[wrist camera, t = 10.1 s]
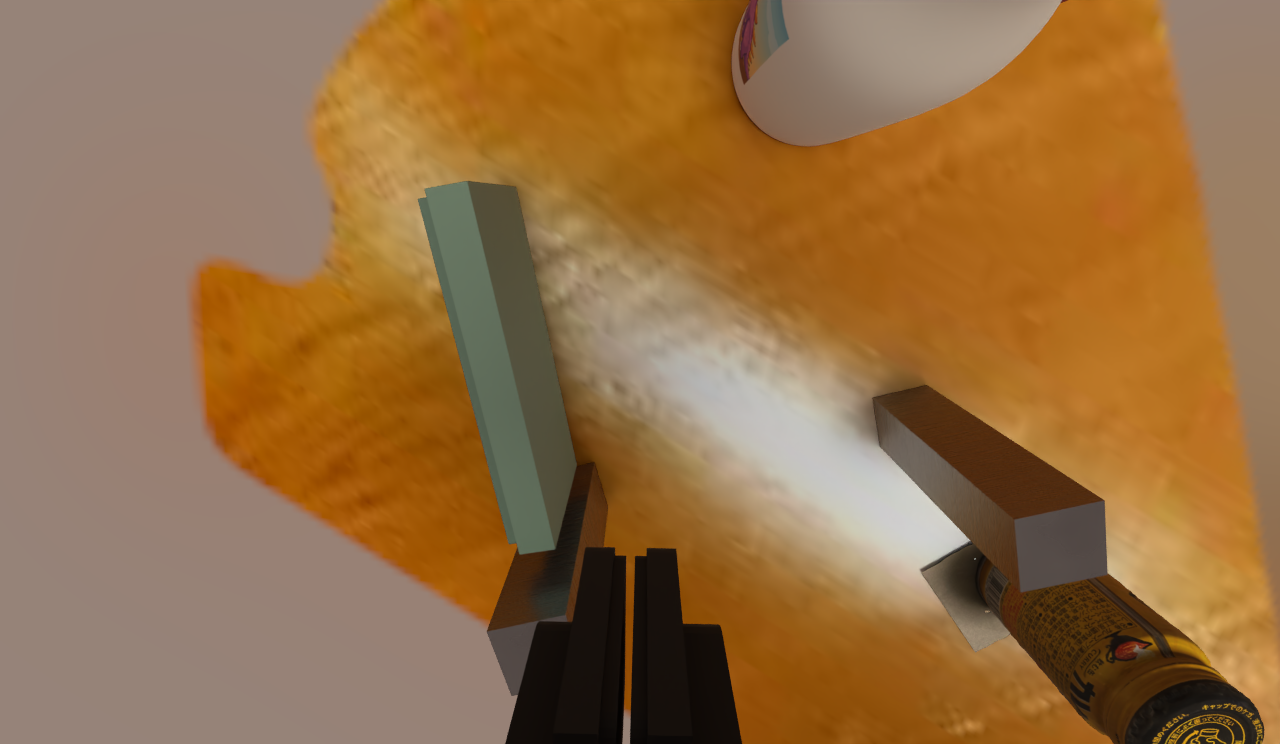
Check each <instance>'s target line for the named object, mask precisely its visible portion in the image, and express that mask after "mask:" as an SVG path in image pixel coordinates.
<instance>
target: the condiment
mask: <svg viewBox="0 0 1280 744" xmlns="http://www.w3.org/2000/svg"><path fill="white" fill-rule="evenodd" d="M974 558H976V560H974ZM922 574H923V575H924V577H925V578H926V580H927V581H928V583H929V584H930V586H931V587H932V589H933V590H934V592H935V593H936V595H937V596H938V598H939V599H940V601H941V602H942V604H943V605H944V607H945V608H946V610H947V611H948V613H949V614H950V616H951V617H952V619H953V620H954V622H955V623H956V624H957V626H958V627H959V629H960V630H961V632H962V633H963V635H964V636H965V638H966V639H967V641H968V642H969V644H970V645H971V647H972V648H973V650H974V651H975V652H977V651H979V650H981V649H983V648H986V647H988V646H989V645H991V644H993V643H994V642H996V641H998V640H1000V639H1003V638H1005V637H1007V636H1008V635H1009V634H1011V635H1012V636H1013V637H1014V638H1015V639H1016V640H1017V642H1018V643H1019V645H1020V646H1021V647H1022V648H1023V649H1025V651H1026V652H1027V653H1028V654H1029V656H1030V657H1031V658H1032V659H1033V660H1034V661H1035V662H1036V664H1037V665H1038V667H1039V668H1040V669H1041V670H1042V671H1043V672H1044V673H1045V674H1046V675H1047V677H1048V678H1049V679H1050V680H1051V681H1052V682H1053V684H1054V685H1055V686H1056V687H1057V688H1058V690H1059V692H1060V693H1061V694H1062V695H1063V696H1064V697H1065V698H1066V699H1067V700H1068V701H1069V703H1070V704H1071V705H1072V706H1073V707H1074V708H1075V710H1076V711H1077V713H1078V714H1079V715H1080V716H1082V718H1083V719H1084V720H1085V721H1086V722H1087V723H1088V724H1089V725H1090V726H1092V727H1093V728H1094V729H1096V730H1097V731H1098V732H1100V733H1101V734H1103V735H1106V736H1108V737H1110V739H1111V740H1112V742H1113V743H1114V744H1262V741H1263V738H1264V725H1263V722H1262V720H1261V718H1260V715H1259V712H1258V710H1257V708H1256V707H1255V706H1254V704H1253V703H1252V702H1251V700H1250V699H1249V698H1247V697H1246V696H1245V695H1244V694H1243V693H1241V692H1239V691H1238V690H1237V689H1236V688H1234V687H1233V686H1231V685H1230V684H1229V683H1228V682H1227V680H1226V679H1225V678H1224V677H1223V676H1222V675H1221V674H1220V673H1219V672H1218V671H1216V670H1215V669H1214V668H1212V667H1211V663H1210V660H1209V659H1208V658H1207V657H1206V655H1205V653H1204V652H1203V651H1202V650H1201V649H1200V648H1199V647H1198V646H1197V645H1196V644H1195V643H1194V642H1193V641H1192V640H1191V639H1190V638H1188V637H1187V636H1186V635H1185V634H1183V633H1182V632H1181V631H1180V630H1179V629H1177V628H1176V627H1174V626H1173V625H1171V624H1170V623H1169V622H1168V621H1167V620H1165V619H1164V618H1163V617H1162V616H1160V615H1159V614H1157V613H1156V612H1155V611H1154V610H1153V609H1151V608H1150V607H1149V606H1147V605H1146V604H1145V603H1144V602H1143V601H1142V600H1140V599H1138V598H1137V597H1136V596H1135V595H1134V594H1133V593H1132V592H1131V591H1130V590H1128V589H1126V588H1125V587H1124V586H1123V585H1122V584H1121V583H1120V582H1119V581H1117V580H1116V579H1114V578H1113V577H1112V576H1111V575H1109V574H1108V573H1107V575H1104V576H1100V577H1095V578H1090V579H1085V580H1080V581H1075V582H1070V583H1065V584H1060V585H1055V586H1050V587H1045V588H1040V589H1036V590H1031V591H1026V592H1020V591H1019V590H1018V589H1017V588H1016V587H1015V586H1014V585H1013V584H1012V583H1011V582H1010V581H1009V580H1008V579H1007V578H1006V577H1005V576H1004V575H1003V574H1002V573H1001V572H1000V571H999V570H998V568H997V567H996V566H995V565H994V564H993V563H992V562H991V561H990V560H989V559H988V558H987V557H986V556H985V555H984V554H983V553H982V552H981V551H980V550H979V549H978V548H977V547H976V546H975V545H974V544H971V545H969V546H966V547H964V548H963V549H961V550H960V551H958V552H955V553H954V554H952V555H950V556H948V557H947V558H945V559H944V560H943V561H941V562H940V563H938V564H937V565H935V566H933V567H931V568H929V569H927V570H926V571H924V572H922ZM985 610H989V611H990V612H989V613H985Z"/></svg>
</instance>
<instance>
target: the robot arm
mask: <svg viewBox="0 0 1280 744" xmlns="http://www.w3.org/2000/svg"><path fill="white" fill-rule="evenodd" d="M625 615H626V556H615V548H611V547H586V548H585V552H584V558H583V564H582V569H581V575H580V581H579V587H578V592H577V598H576V604H575V610H574V615H573V621H572V622H555V621H539V622H538V623H537V625H536V628H535V631H534V635H533V639H532V643H531V647H530V651H529V654H528V658H527V662H526V666H525V670H524V674H523V678H522V681H521V685H520V689H519V693H518V697H517V701H516V705H515V708H514V712H513V716H512V720H511V724H510V728H509V732H508V735H507V740H506V743H505V744H622V738H623V716H624V691H625ZM630 744H742V741H741V736H740V730H739V725H738V719H737V713H736V708H735V702H734V697H733V691H732V685H731V680H730V674H729V669H728V663H727V658H726V652H725V646H724V641H723V635H722V631H721V627H720V625H713V624H683V621H682V610H681V599H680V588H679V576H678V565H677V554H676V549H665V548H647V556H635V585H634V620H633V655H632V690H631V729H630Z"/></svg>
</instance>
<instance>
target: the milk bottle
mask: <svg viewBox="0 0 1280 744" xmlns="http://www.w3.org/2000/svg"><path fill="white" fill-rule="evenodd" d="M1061 1H1062V0H750V2H749V4H748V6H747V8H746V10H745V12H744V14H743V16H742V19H741V21H740V23H739V26H738V29H737V32H736V35H735V39H734V43H733V50H732V76H733V82H734V87H735V90H736V93H737V96H738V98H739V101H740V103H741V105H742V107H743V109H744V110H745V112H746V113H747V115H748V116H749V118H750V119H751V120H752V121H753V122H754V124H756V125H757V126H758V127H759V128H760V129H761V130H762V131H763V132H765V133H766V134H768V135H769V136H771V137H772V138H775V139H777V140H779V141H781V142H784V143H787V144H791V145H797V146H818V145H824V144H829V143H833V142H837V141H840V140H843V139H847V138H850V137H853V136H856V135H860V134H863V133H866V132H869V131H872V130H875V129H879V128H882V127H885V126H888V125H891V124H893V123H896V122H899V121H902V120H905V119H908V118H911V117H914V116H917V115H919V114H922V113H924V112H927V111H929V110H932V109H934V108H937V107H939V106H941V105H944V104H946V103H949V102H951V101H953V100H955V99H957V98H959V97H961V96H963V95H965V94H966V93H968V92H969V91H971V90H973V89H974V88H976V87H977V86H979V85H981V84H982V83H984V82H985V81H987V80H989V79H990V78H991V77H993V76H994V75H995V74H996V73H998V72H999V71H1000V70H1002V69H1003V68H1004V67H1005V66H1006V65H1007V64H1009V63H1010V62H1011V61H1012V60H1013V59H1014V58H1015V57H1016V56H1018V55H1019V54H1020V53H1021V52H1022V51H1023V50H1024V49H1025V47H1026V46H1027V45H1028V44H1029V43H1030V42H1031V41H1032V40H1033V39H1034V38H1035V36H1036V35H1037V34H1038V33H1039V32H1040V31H1041V29H1042V28H1043V27H1044V26H1045V24H1046V23H1047V22H1048V21H1049V19H1050V18H1051V16H1052V15H1053V13H1054V12H1055V10H1056V9H1057V7H1058V6H1059V4H1060V3H1061Z"/></svg>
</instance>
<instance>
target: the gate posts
mask: <svg viewBox="0 0 1280 744" xmlns="http://www.w3.org/2000/svg"><path fill="white" fill-rule="evenodd" d="M873 404H874V411H875V418H876V424H877V431H878V437H879V444H880V447H881V448H882V449H883V450H884V451H885V452H886V453H887V454H888V455H889V456H890V457H891V458H892V460H893V461H894V462H895V463H896V464H897V465H898V466H899V467H900V468H901V469H902V470H903V471H904V472H905V473H906V474H907V475H908V476H909V477H910V478H911V479H912V480H913V481H914V482H915V483H916V484H917V485H918V486H919V488H920V489H921V490H922V491H923V492H924V493H925V494H926V495H927V496H928V497H929V498H930V499H931V500H932V501H933V502H934V503H935V504H936V505H937V506H938V507H939V508H940V509H941V510H942V511H943V512H944V513H945V515H946V516H947V517H948V518H949V519H950V520H951V521H952V522H953V523H954V524H955V525H956V526H957V527H958V528H959V529H960V530H961V531H962V532H963V533H964V534H965V535H966V536H967V537H968V538H969V539H970V540H971V541H972V543H973V544H974V545H975V546H976V547H977V548H978V549H979V550H980V551H981V552H982V553H983V554H984V555H985V556H986V557H987V558H988V559H989V560H990V561H991V562H992V563H993V564H994V565H995V566H996V567H997V568H998V570H999V571H1000V572H1001V573H1002V574H1003V575H1004V576H1005V577H1006V578H1007V579H1008V580H1009V581H1010V582H1011V583H1012V584H1013V585H1014V586H1015V587H1016V588H1017V589H1018V590H1019V591H1020V592H1026V591H1031V590H1036V589H1040V588H1045V587H1050V586H1055V585H1060V584H1065V583H1070V582H1075V581H1080V580H1085V579H1090V578H1095V577H1100V576H1104V575H1107V552H1106V527H1105V501H1104V500H1103V499H1101V498H1100V497H1098V496H1097V495H1095V494H1094V493H1092V492H1091V491H1089V490H1087V489H1086V488H1084V487H1083V486H1081V485H1080V484H1078V483H1077V482H1075V481H1074V480H1072V479H1071V478H1069V477H1067V476H1066V475H1064V474H1063V473H1061V472H1060V471H1058V470H1057V469H1055V468H1054V467H1052V466H1051V465H1049V464H1047V463H1046V462H1044V461H1043V460H1041V459H1040V458H1038V457H1037V456H1035V455H1034V454H1032V453H1031V452H1029V451H1027V450H1026V449H1024V448H1023V447H1021V446H1020V445H1018V444H1017V443H1015V442H1014V441H1012V440H1010V439H1009V438H1007V437H1006V436H1004V435H1003V434H1001V433H1000V432H998V431H997V430H995V429H994V428H992V427H990V426H989V425H987V424H986V423H984V422H983V421H981V420H980V419H978V418H977V417H975V416H974V415H972V414H970V413H969V412H967V411H966V410H964V409H963V408H961V407H960V406H958V405H957V404H955V403H953V402H952V401H950V400H949V399H947V398H946V397H944V396H943V395H941V394H940V393H938V392H937V391H935V390H933V389H932V388H930V387H929V386H927V385H926V386H922V387H917V388H913V389H909V390H904V391H900V392H896V393H891V394H887V395H883V396H878V397H874V398H873ZM607 512H608V506H607V503H606V499H605V496H604V493H603V489H602V486H601V483H600V479H599V476H598V473H597V469H596V466H595V463H589V464H585V465H581V466H577V467H576V470H575V474H574V478H573V482H572V486H571V490H570V494H569V498H568V502H567V506H566V510H565V514H564V518H563V521H562V525H561V529H560V533H559V537H558V541H557V545H556V549H554V550H548V551H541V552H534V553H527V554H519V551H518V548H517V550H516V553H515V556H514V559H513V561H512V564H511V567H510V569H509V572H508V575H507V578H506V580H505V583H504V586H503V589H502V591H501V594H500V597H499V600H498V602H497V605H496V608H495V611H494V613H493V616H492V619H491V621H490V624H489V627H488V630H487V634H488V636H489V638H490V641H491V644H492V646H493V649H494V652H495V654H496V657H497V659H498V662H499V664H500V667H501V670H502V672H503V675H504V677H505V680H506V683H507V685H508V688H509V690H510V693H511V695H512V696H514V695H518V693H519V689H520V685H521V681H522V678H523V674H524V670H525V666H526V662H527V658H528V654H529V651H530V647H531V643H532V639H533V635H534V631H535V628H536V625H537V623H538V622H539V621H555V622H572V621H573V615H574V610H575V604H576V598H577V592H578V587H579V581H580V575H581V569H582V564H583V558H584V552H585V548H586V547H603V546H604V538H605V529H606V521H607Z"/></svg>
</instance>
